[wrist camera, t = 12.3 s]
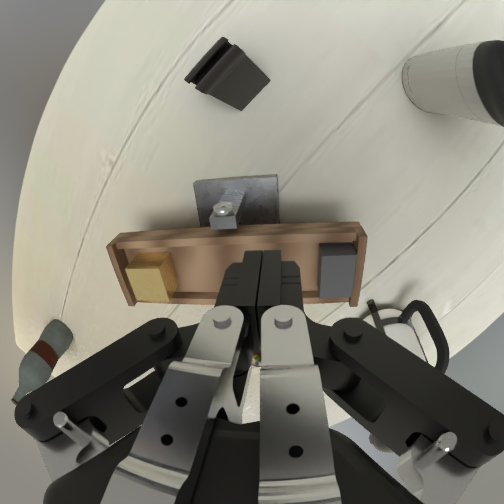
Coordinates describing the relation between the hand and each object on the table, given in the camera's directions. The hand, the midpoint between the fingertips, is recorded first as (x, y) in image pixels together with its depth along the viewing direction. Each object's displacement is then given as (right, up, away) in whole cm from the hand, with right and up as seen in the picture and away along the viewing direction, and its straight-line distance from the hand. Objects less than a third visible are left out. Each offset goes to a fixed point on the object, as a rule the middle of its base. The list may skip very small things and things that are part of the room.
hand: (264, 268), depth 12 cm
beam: (-3, 0, +24) cm, 25 cm away
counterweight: (+10, -1, +21) cm, 23 cm away
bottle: (-57, -22, +53) cm, 81 cm away
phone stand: (-3, +25, +20) cm, 32 cm away
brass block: (-13, -2, +24) cm, 28 cm away
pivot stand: (-2, +4, +32) cm, 32 cm away
